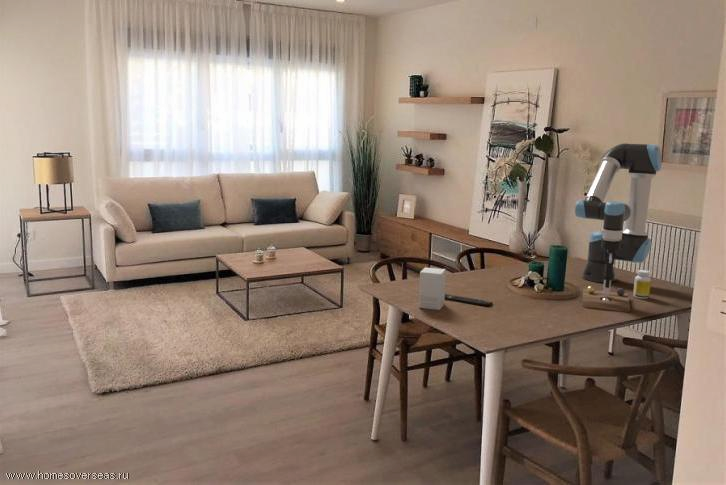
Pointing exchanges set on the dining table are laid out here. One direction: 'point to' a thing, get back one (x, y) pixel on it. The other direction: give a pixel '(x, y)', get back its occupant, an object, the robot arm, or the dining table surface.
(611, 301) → the board
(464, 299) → the remote control
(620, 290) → the rubber ball
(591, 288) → the brass ball
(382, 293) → the dining table surface
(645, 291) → the pill bottle
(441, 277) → the supplement box
